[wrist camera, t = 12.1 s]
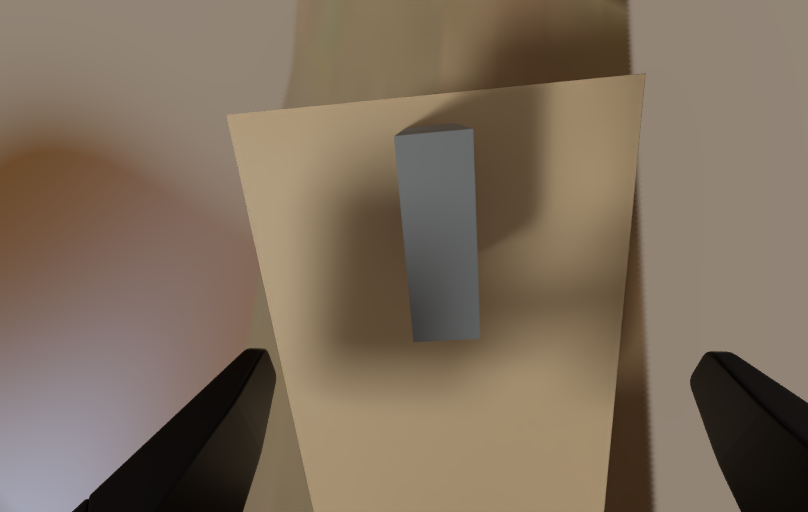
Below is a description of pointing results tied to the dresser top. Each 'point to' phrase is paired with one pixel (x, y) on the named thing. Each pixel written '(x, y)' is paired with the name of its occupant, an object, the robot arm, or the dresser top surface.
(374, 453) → the carton lid
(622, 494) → the dresser top surface
